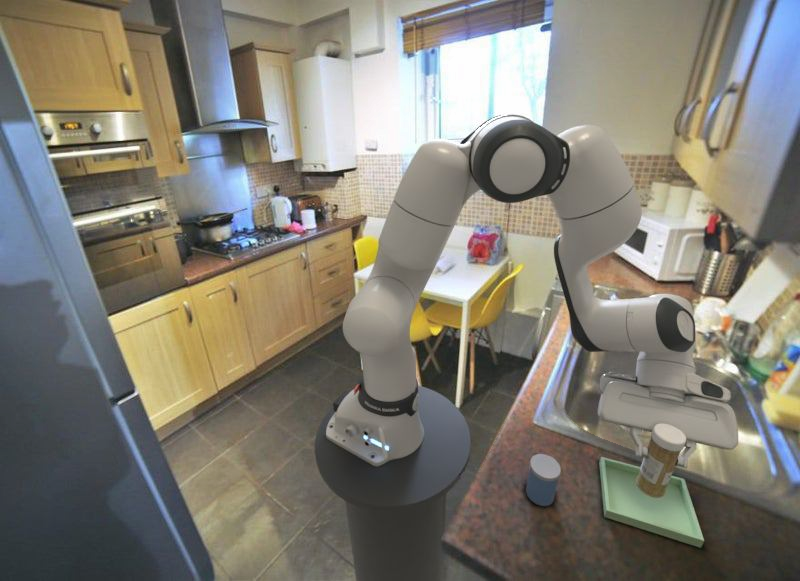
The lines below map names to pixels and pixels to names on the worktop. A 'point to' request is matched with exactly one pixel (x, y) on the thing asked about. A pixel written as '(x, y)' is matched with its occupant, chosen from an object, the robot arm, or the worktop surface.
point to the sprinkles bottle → (660, 459)
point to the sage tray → (648, 504)
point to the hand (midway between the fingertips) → (660, 462)
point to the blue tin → (542, 479)
